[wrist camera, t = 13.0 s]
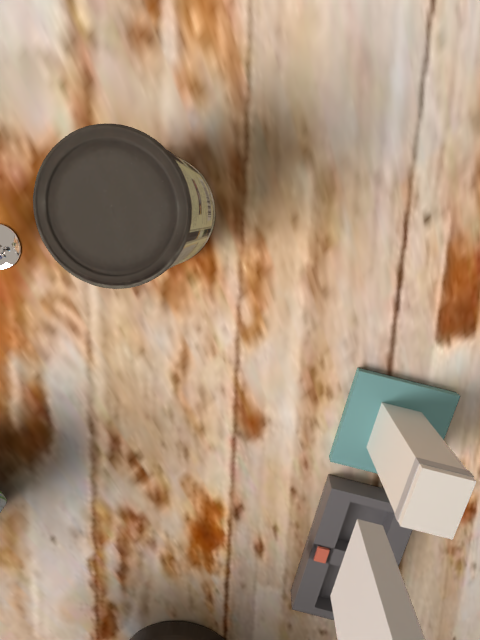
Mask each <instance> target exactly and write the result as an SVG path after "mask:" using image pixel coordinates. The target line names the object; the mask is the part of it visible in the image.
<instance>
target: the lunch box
mask: <svg viewBox="0 0 480 640" xmlns="http://www.w3.org/2000/svg"><path fill="white" fill-rule="evenodd" d="M6 502H7V500H6V498H5V496H4V495H3V494H2V492H1V491H0V512H1V511H2V509H3V508H4V506H5V505H6Z"/></svg>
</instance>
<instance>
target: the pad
mask: <svg viewBox="0 0 480 640" xmlns="http://www.w3.org/2000/svg"><path fill="white" fill-rule="evenodd" d="M459 398H460V396H459V395H458V394H457V393H456V392H452V391H448V390H444V389H440V388H436V387H432V386H428V385H424V384H420V383H416V382H412V381H408V380H404V379H401V378H397V377H393V376H389V375H385V374H381V373H377V372H373V371H369V370H365V369H361V368H357V371H356V374H355V377H354V380H353V383H352V386H351V389H350V393H349V396H348V399H347V402H346V405H345V408H344V411H343V414H342V418H341V421H340V424H339V427H338V430H337V433H336V436H335V440H334V443H333V446H332V449H331V452H330V455H329V458H330V462H334V463H338V464H342V465H346V466H350V467H354V468H358V469H362V470H366V471H369V472H373V473H377V471H376V468H375V466H374V464H373V461H372V459H371V457H370V454H369V452H368V450H367V444H368V441H369V438H370V435H371V432H372V429H373V426H374V423H375V421H376V418H377V415H378V412H379V409H380V406H381V403H382V402H383V403H387V404H391V405H395V406H399V407H403V408H407V409H411V410H415V411H419V412H422V413H423V415H424V416H425V417H426V419H427V420H428V421H429V422H430V424H431V425H432V426H433V427H434V429H435V430H436V431H437V432H438V434H439V435H440V436H441V437H442V439H443V440H444V438H445V435H446V432H447V430H448V427H449V425H450V422H451V419H452V417H453V414H454V411H455V409H456V406H457V404H458V401H459ZM377 474H378V473H377Z"/></svg>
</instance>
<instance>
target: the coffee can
mask: <svg viewBox="0 0 480 640" xmlns="http://www.w3.org/2000/svg"><path fill="white" fill-rule="evenodd" d="M33 208H34V215H35V220H36V225H37V228H38V231H39V234H40V236H41V238H42V240H43V242H44V244H45V246H46V248H47V249H48V251H49V252H50V253H51V255H52V256H53V257H54V259H55V260H56V261H57V262H58V263H59V264H60V265H61V266H62V267H63V268H64V269H65V270H67V271H68V272H69V273H71V274H72V275H74V276H75V277H77V278H79V279H80V280H82V281H84V282H87V283H89V284H92V285H95V286H99V287H103V288H112V289H122V288H131V287H135V286H139V285H142V284H144V283H147V282H149V281H151V280H153V279H155V278H156V277H158V276H159V275H161V274H162V273H164V272H165V271H166V270H167V269H169V268H171V267H173V266H175V265H177V264H179V263H182V262H184V261H186V260H188V259H190V258H191V257H193V256H194V255H196V254H197V253H198V252H199V251H200V250H201V249H202V248H203V247H204V245H205V244H206V242H207V241H208V239H209V237H210V235H211V233H212V230H213V226H214V222H215V204H214V199H213V195H212V192H211V189H210V187H209V185H208V183H207V182H206V180H205V179H204V177H203V175H202V174H201V173H200V172H199V171H198V170H197V169H196V168H195V167H193V166H192V165H191V164H189V163H188V162H186V161H184V160H182V159H180V158H178V157H177V156H175V155H174V154H172V153H171V152H169V151H168V150H166V149H165V148H164V147H163V146H162V145H161V144H160V143H159V142H157V141H156V140H155V139H153V138H152V137H150V136H149V135H147V134H146V133H143V132H141V131H139V130H137V129H134V128H132V127H128V126H124V125H118V124H96V125H91V126H86V127H83V128H81V129H78V130H76V131H74V132H72V133H70V134H69V135H68V136H66V137H65V138H63V139H62V140H61V141H60V142H59V143H58V144H56V145H55V146H54V147H53V149H52V150H51V151H50V152H49V153H48V155H47V156H46V158H45V159H44V161H43V163H42V165H41V167H40V169H39V172H38V175H37V178H36V182H35V187H34V194H33Z"/></svg>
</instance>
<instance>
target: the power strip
mask: <svg viewBox="0 0 480 640" xmlns="http://www.w3.org/2000/svg"><path fill="white" fill-rule="evenodd" d="M357 519H359V520H363V521H367V522H371V523H375V524H379V525H383V527H384V530H385V533H386V536H387V538H388V541H389V544H390V546H391V549H392V552H393V554H394V557H395V560H396V562H397V565H398V566H399V564H400V561H401V558H402V556H403V553H404V550H405V548H406V545H407V543H408V540H409V537H410V535H411V532H412V529H408V528H404V527H401V526H400V525H399V522H397V520H396V518H395V513H394V511H393V508H392V506H391V504H390V501H389V499H388V497H387V494H386V492H385V490H384V488H380V487H376V486H372V485H368V484H364V483H360V482H356V481H352V480H348V479H344V478H340V477H336V476H332V475H328V477H327V480H326V483H325V486H324V489H323V493H322V496H321V499H320V502H319V505H318V508H317V511H316V514H315V517H314V521H313V524H312V527H311V530H310V533H309V536H308V539H307V542H306V545H305V548H304V552H303V555H302V558H301V561H300V564H299V567H298V570H297V573H296V576H295V579H294V583H293V586H292V589H291V601H292V609H293V610H296V611H300V612H304V613H308V614H312V615H316V616H320V617H324V618H328V619H332V620H334V615H333V609H332V603H331V597H330V595H331V592H332V590H333V587H334V584H335V581H336V578H337V575H338V572H339V569H340V567H341V564H342V561H343V558H344V555H345V552H346V549H347V547H348V544H349V541H350V538H351V535H352V532H353V529H354V526H355V524H356V521H357Z"/></svg>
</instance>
